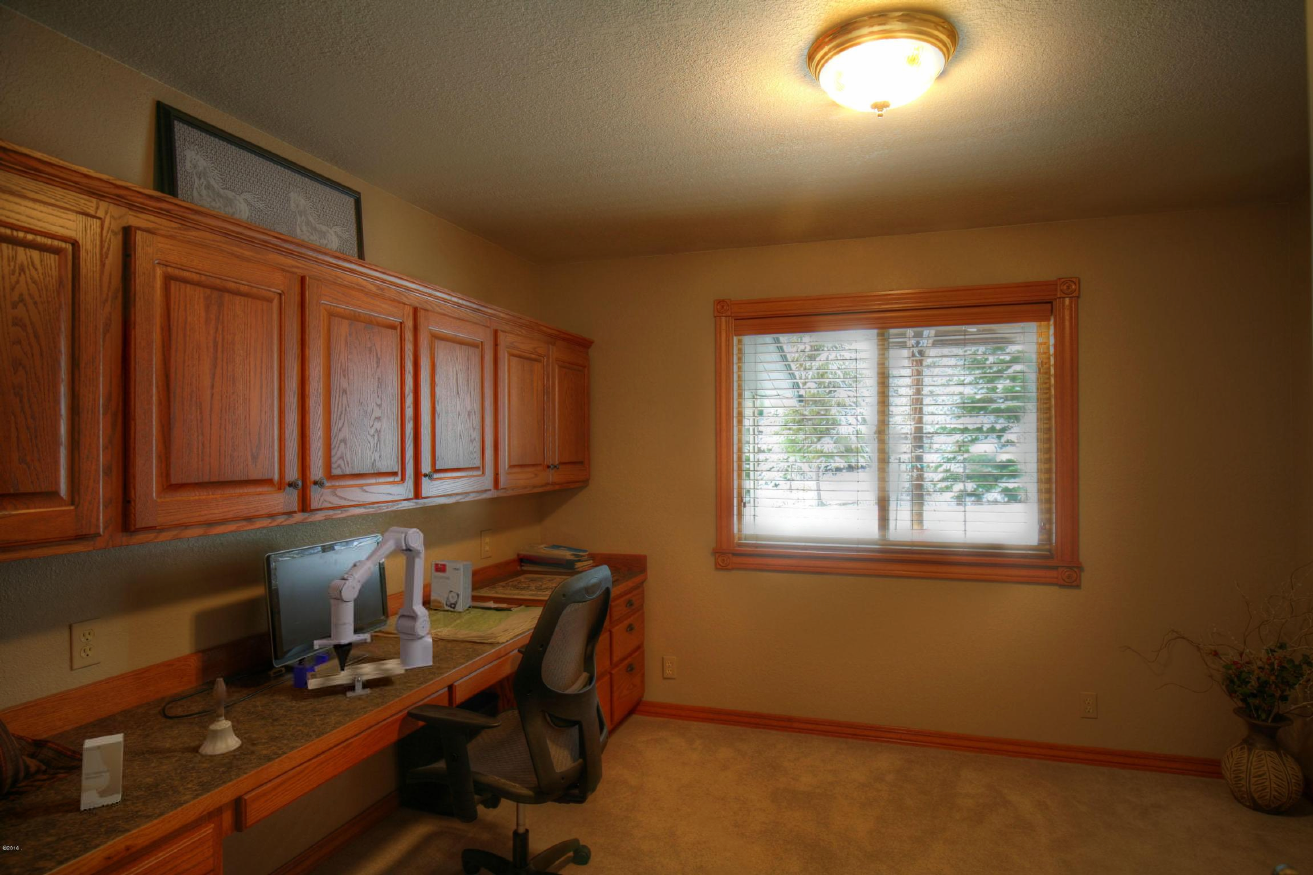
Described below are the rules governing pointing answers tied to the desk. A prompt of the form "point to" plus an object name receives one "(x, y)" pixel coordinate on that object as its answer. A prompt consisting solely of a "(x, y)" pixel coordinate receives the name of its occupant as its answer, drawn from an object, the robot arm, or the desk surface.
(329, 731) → the desk surface
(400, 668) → the balance beam
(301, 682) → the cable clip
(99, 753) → the skincare box
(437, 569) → the hard drive box
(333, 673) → the block
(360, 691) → the pivot stand
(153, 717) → the desk surface
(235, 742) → the hand bell
